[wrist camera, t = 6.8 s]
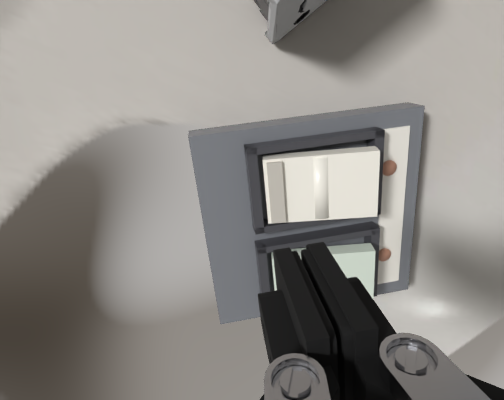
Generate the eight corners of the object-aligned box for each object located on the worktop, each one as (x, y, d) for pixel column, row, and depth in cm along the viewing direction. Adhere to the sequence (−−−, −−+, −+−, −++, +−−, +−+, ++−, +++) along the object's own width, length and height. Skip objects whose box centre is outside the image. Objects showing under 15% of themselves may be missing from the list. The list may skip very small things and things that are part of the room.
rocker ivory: (374, 145, 28) (381, 151, 26) (372, 208, 30) (378, 218, 29) (262, 154, 29) (262, 161, 27) (268, 215, 31) (268, 225, 29)
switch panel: (408, 102, 32) (435, 108, 28) (395, 275, 39) (416, 297, 36) (188, 130, 30) (188, 140, 26) (218, 307, 37) (221, 335, 34)
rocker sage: (370, 241, 32) (376, 253, 30) (368, 292, 34) (374, 305, 32) (271, 249, 32) (271, 260, 31) (275, 298, 35) (276, 311, 33)
